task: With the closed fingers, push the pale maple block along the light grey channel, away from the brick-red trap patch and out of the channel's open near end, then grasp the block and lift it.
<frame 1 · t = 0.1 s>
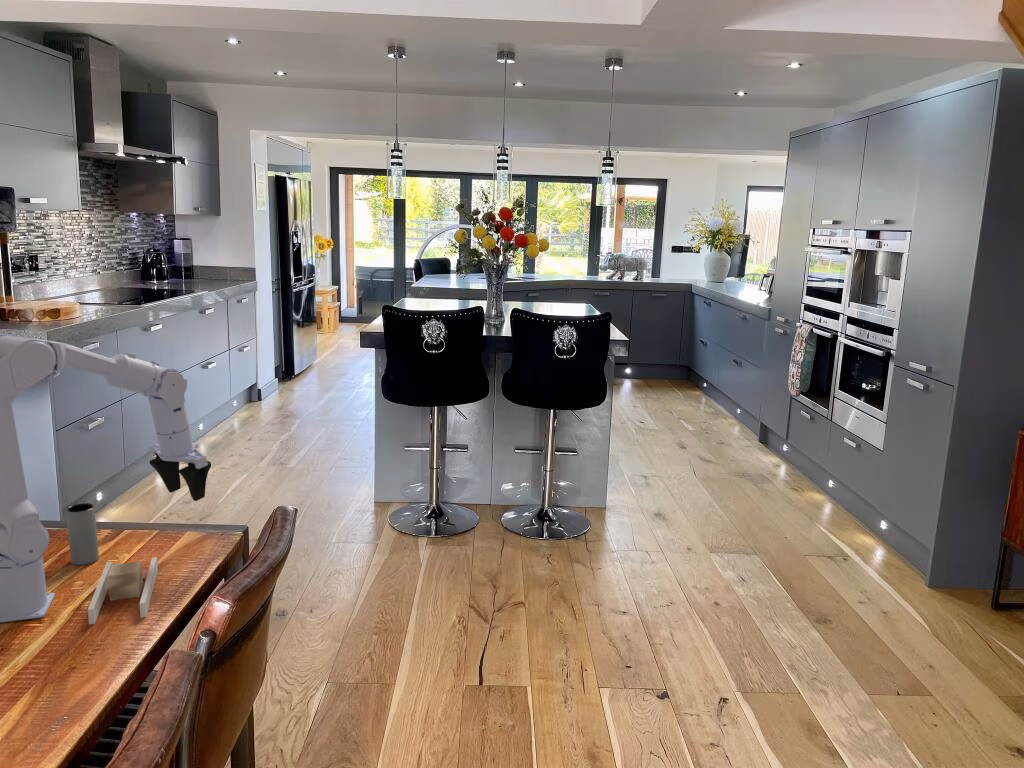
hand: (186, 494, 147), 10 cm above the table, tool pointing down, fingers open, 7 cm apart
block: (126, 593, 130), on the table
grey hollow tube: (85, 561, 142), on the table
channel: (126, 595, 129), on the table
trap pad: (131, 576, 136), on the table
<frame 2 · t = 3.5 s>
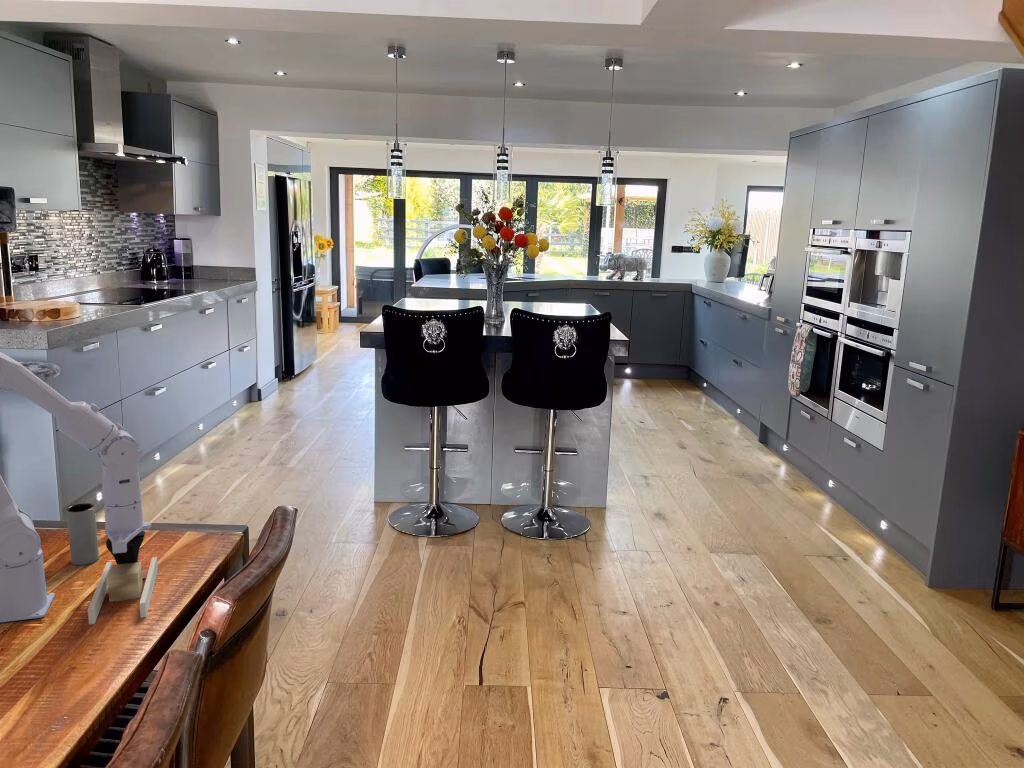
hand: (128, 575, 133), 2 cm above the table, tool pointing down, fingers closed
block: (126, 593, 130), on the table, touching gripper
everything else where it was.
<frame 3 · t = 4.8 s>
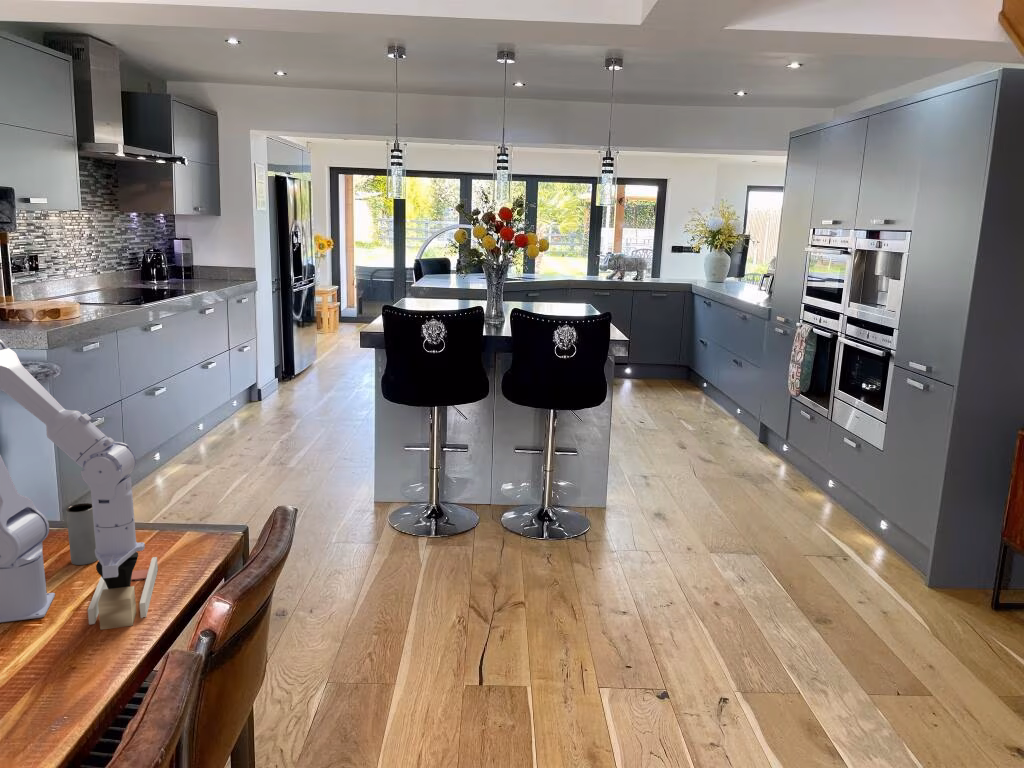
hand: (120, 600, 124), 2 cm above the table, tool pointing down, fingers closed
block: (118, 620, 121), on the table, touching gripper
everything else where it was.
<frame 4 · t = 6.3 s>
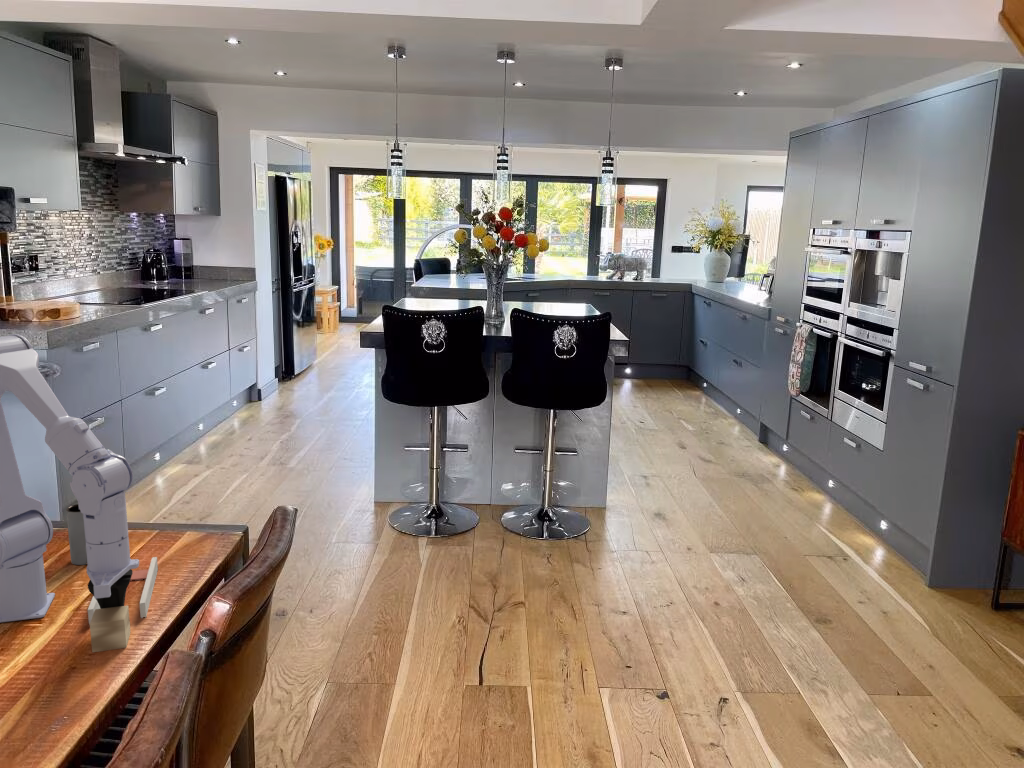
hand: (114, 620, 118), 2 cm above the table, tool pointing down, fingers closed
block: (111, 642, 115), on the table, touching gripper
everything else where it was.
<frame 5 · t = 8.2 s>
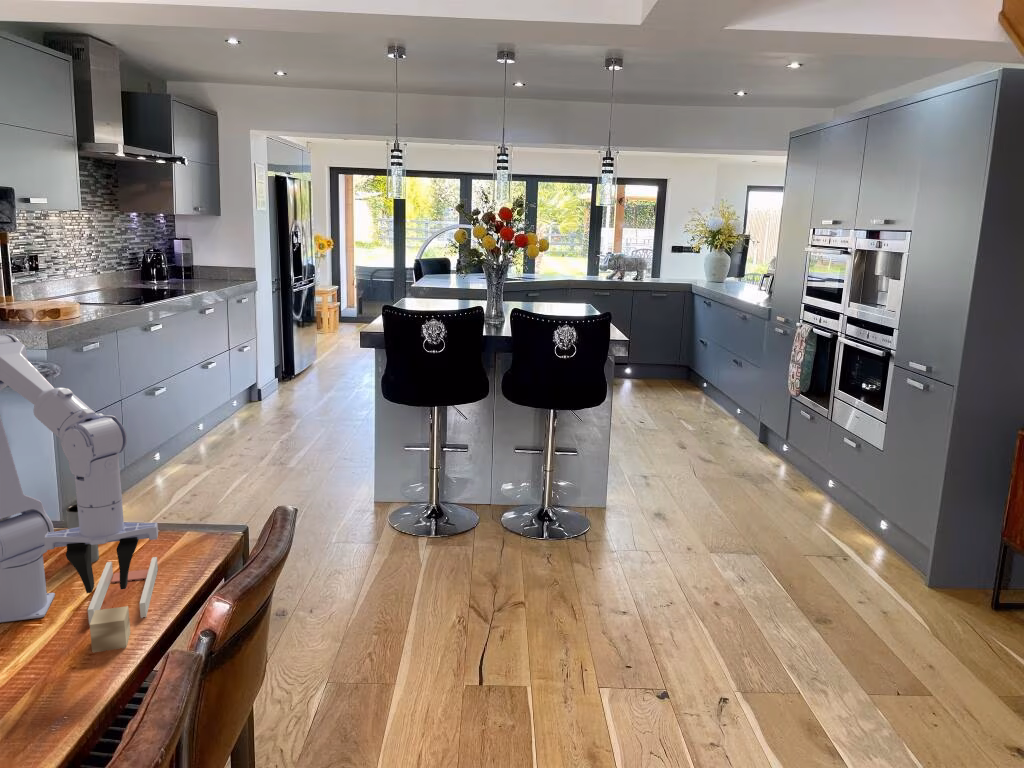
hand: (107, 588, 114), 8 cm above the table, tool pointing down, fingers open, 4 cm apart
block: (111, 642, 115), on the table
everything else where it was.
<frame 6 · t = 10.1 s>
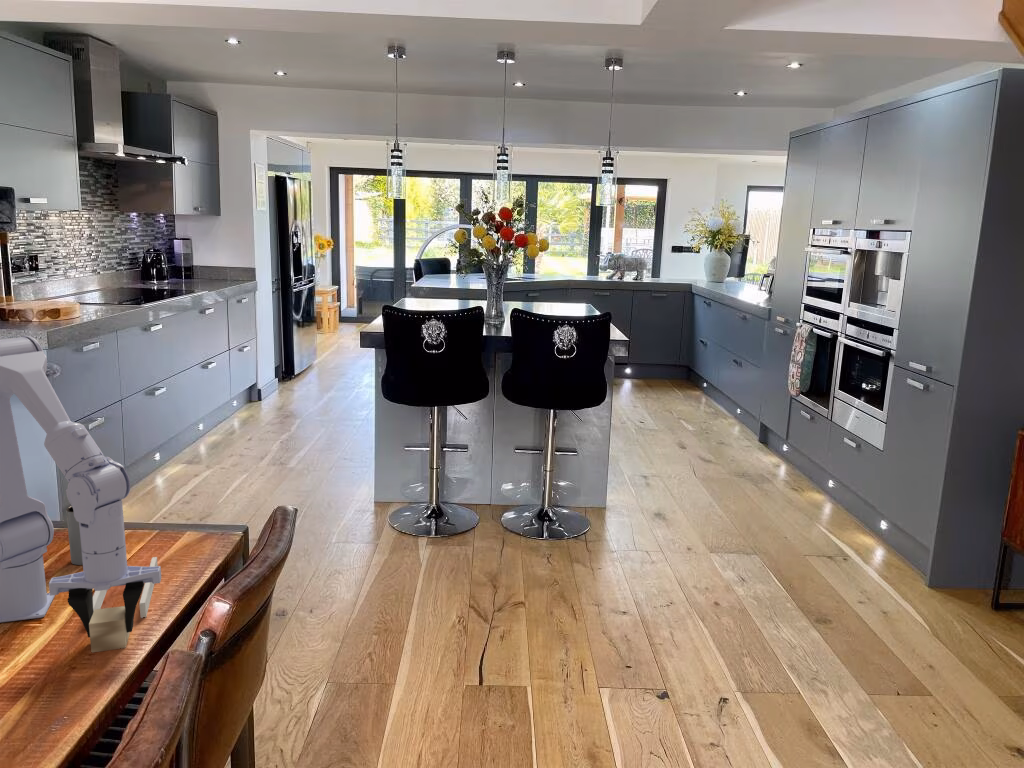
hand: (111, 631, 115), 1 cm above the table, tool pointing down, fingers closed on block, 4 cm apart
block: (111, 642, 115), on the table, touching gripper
everything else where it was.
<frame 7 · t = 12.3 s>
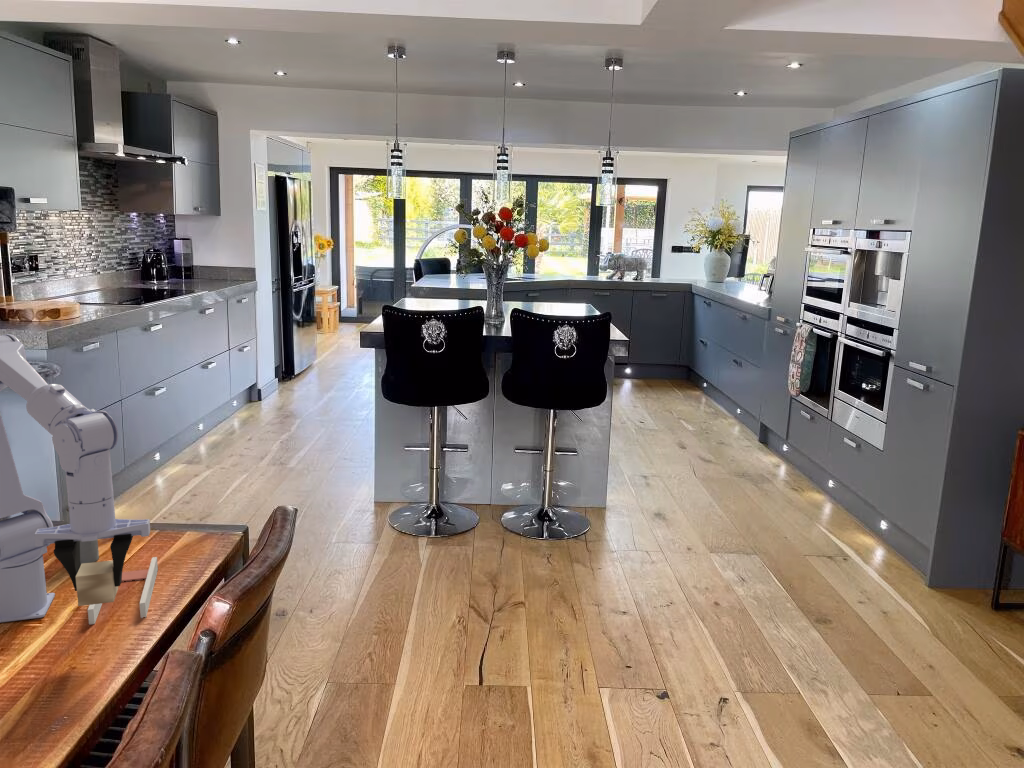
hand: (98, 585, 112), 9 cm above the table, tool pointing down, fingers closed on block, 4 cm apart
block: (98, 596, 112), point 8 cm above the table, touching gripper
everything else where it was.
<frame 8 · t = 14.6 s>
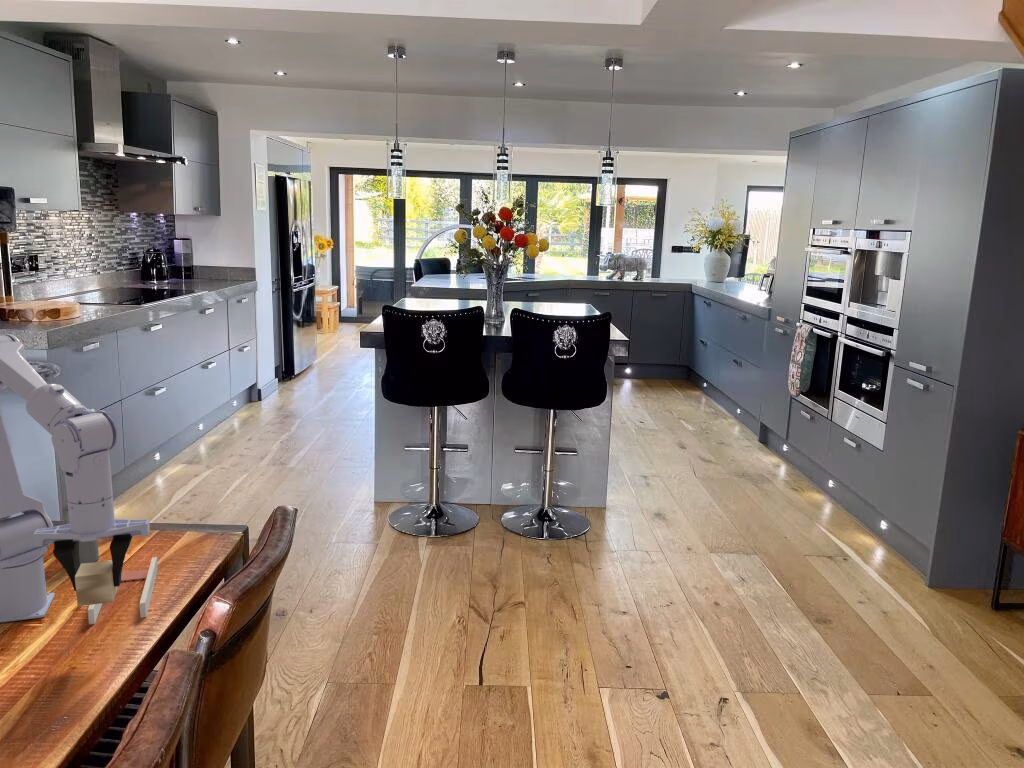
hand: (98, 585, 112), 9 cm above the table, tool pointing down, fingers closed on block, 4 cm apart
block: (98, 597, 112), point 8 cm above the table, touching gripper
everything else where it was.
at the end: block inside the target area (1.0 cm from its centre), point 7.9 cm above the table; block point 7.9 cm above the table; the gripper is holding block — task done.
